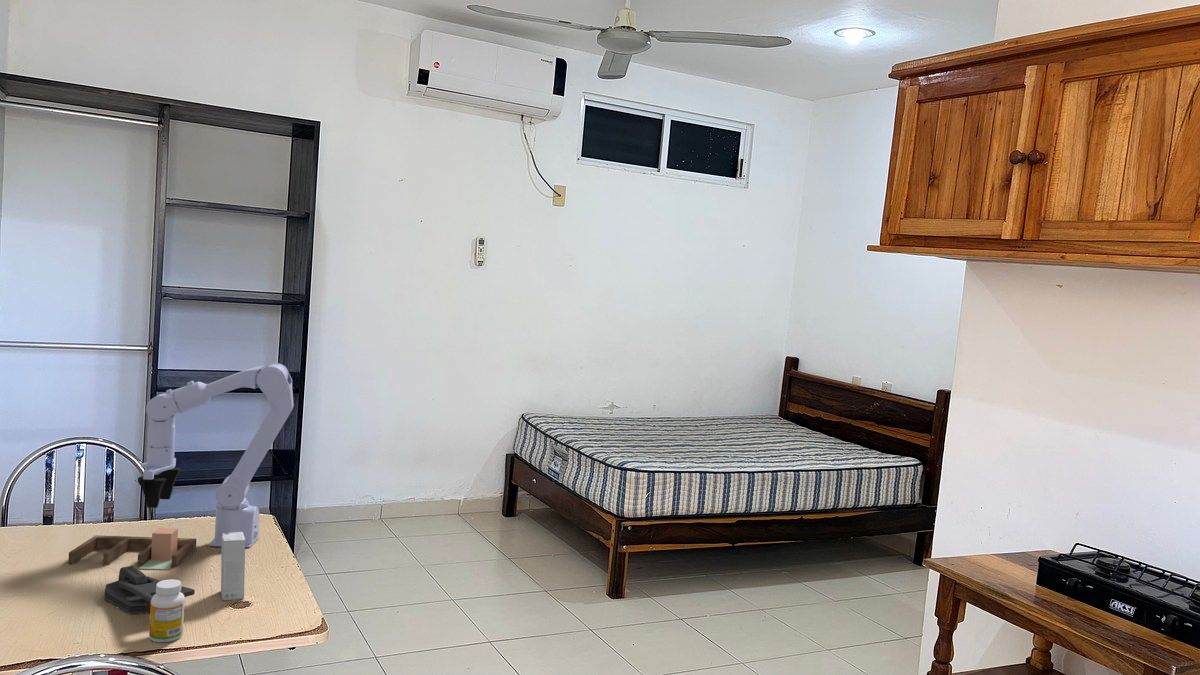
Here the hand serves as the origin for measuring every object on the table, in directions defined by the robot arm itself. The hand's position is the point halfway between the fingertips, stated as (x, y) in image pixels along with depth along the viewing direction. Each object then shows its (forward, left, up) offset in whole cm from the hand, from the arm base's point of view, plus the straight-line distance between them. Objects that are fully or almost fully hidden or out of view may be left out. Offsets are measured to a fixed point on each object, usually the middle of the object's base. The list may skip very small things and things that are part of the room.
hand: (158, 503), depth 204 cm
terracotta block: (-6, +11, -9) cm, 15 cm away
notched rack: (+1, +11, -9) cm, 15 cm away
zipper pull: (-13, +41, -10) cm, 44 cm away
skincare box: (-26, +32, -10) cm, 42 cm away
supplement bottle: (-21, +53, -10) cm, 58 cm away
